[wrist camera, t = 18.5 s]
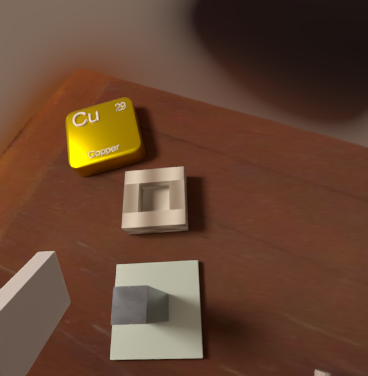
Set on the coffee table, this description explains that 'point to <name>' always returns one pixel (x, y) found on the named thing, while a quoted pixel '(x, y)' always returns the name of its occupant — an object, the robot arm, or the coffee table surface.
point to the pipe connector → (321, 373)
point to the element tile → (104, 137)
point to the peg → (139, 305)
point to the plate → (178, 313)
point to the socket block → (155, 201)
